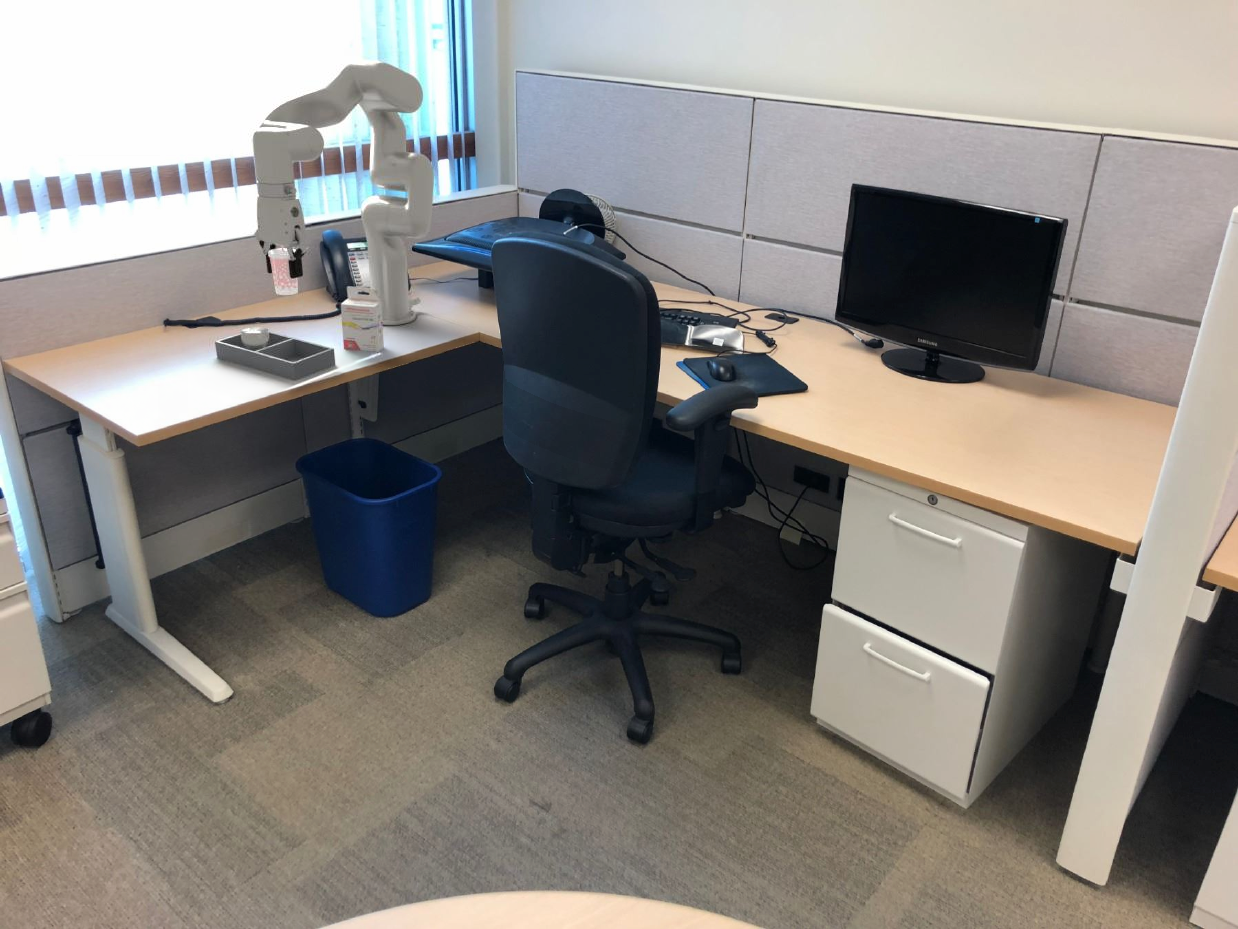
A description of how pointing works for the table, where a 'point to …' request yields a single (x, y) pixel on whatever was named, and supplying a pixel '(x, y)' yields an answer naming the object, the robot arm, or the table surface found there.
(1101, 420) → the table surface
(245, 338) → the metal tin
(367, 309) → the ink cartridge box
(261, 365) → the organizer tray
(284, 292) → the beverage cup
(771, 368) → the table surface
